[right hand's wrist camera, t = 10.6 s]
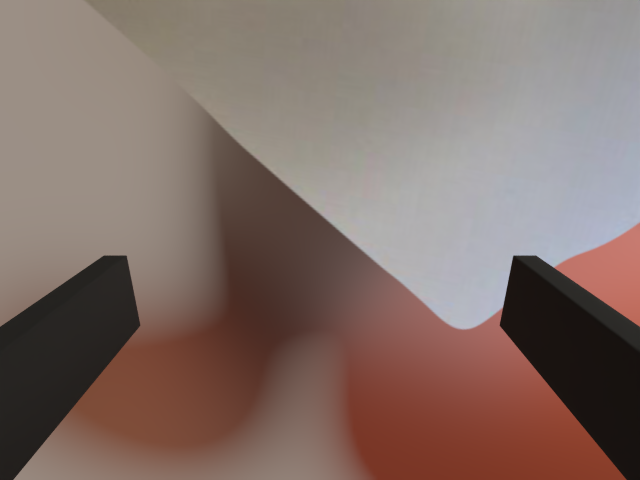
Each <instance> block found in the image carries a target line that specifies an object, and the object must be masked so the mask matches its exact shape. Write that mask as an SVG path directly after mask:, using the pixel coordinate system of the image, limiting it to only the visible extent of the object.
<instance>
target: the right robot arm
mask: <svg viewBox="0 0 640 480" xmlns="http://www.w3.org/2000/svg"><path fill="white" fill-rule="evenodd" d="M139 326H140V322H139V317H138V311H137V306H136V301H135V296H134V291H133V286H132V281H131V276H130V271H129V266H128V260H127V256H103V257H101V258H100V259H98V260H97V261H95V262H94V263H93V264H91V265H90V266H88V267H87V268H85V269H84V270H82V271H81V272H79V273H78V274H77V275H75V276H74V277H72V278H71V279H69V280H68V281H66V282H65V283H64V284H62V285H61V286H59V287H58V288H56V289H55V290H53V291H52V292H50V293H49V294H48V295H46V296H45V297H43V298H42V299H40V300H39V301H37V302H36V303H34V304H33V305H31V306H30V307H28V308H27V309H26V310H24V311H23V312H21V313H20V314H18V315H17V316H15V317H14V318H12V319H11V320H10V321H8V322H7V323H5V324H4V325H2V326H1V327H0V480H13V479H14V478H15V477H16V476H17V475H18V473H19V472H20V471H21V470H22V468H23V467H24V466H25V465H26V464H27V462H28V461H29V460H30V459H31V458H32V456H33V455H34V454H35V453H36V451H37V450H38V449H39V448H40V447H41V445H42V444H43V443H44V442H45V440H46V439H47V438H48V437H49V436H50V434H51V433H52V432H53V431H54V430H55V428H56V427H57V426H58V425H59V424H60V422H61V421H62V420H63V419H64V417H65V416H66V415H67V414H68V413H69V411H70V410H71V409H72V408H73V407H74V405H75V404H76V403H77V402H78V400H79V399H80V398H81V397H82V396H83V394H84V393H85V392H86V391H87V390H88V388H89V387H90V386H91V385H92V383H93V382H94V381H95V380H96V379H97V377H98V376H99V375H100V374H101V373H102V371H103V370H104V369H105V368H106V367H107V365H108V364H109V363H110V362H111V360H112V359H113V358H114V357H115V356H116V354H117V353H118V352H119V351H120V350H121V348H122V347H123V346H124V345H125V343H126V342H127V341H128V340H129V339H130V337H131V336H132V335H133V334H134V333H135V331H136V330H137V329H138V328H139ZM500 326H501V328H502V329H503V330H504V331H505V332H506V334H507V335H508V336H509V337H510V338H511V340H512V341H513V342H514V343H515V345H516V346H517V347H518V348H519V350H520V351H521V352H522V353H523V354H524V356H525V357H526V358H527V359H528V360H529V362H530V363H531V364H532V365H533V366H534V368H535V369H536V370H537V371H538V373H539V374H540V375H541V376H542V377H543V379H544V380H545V381H546V382H547V383H548V385H549V386H550V387H551V388H552V390H553V391H554V392H555V393H556V394H557V396H558V397H559V398H560V399H561V400H562V402H563V403H564V404H565V405H566V407H567V408H568V409H569V410H570V411H571V413H572V414H573V415H574V416H575V417H576V419H577V420H578V421H579V422H580V424H581V425H582V426H583V427H584V428H585V430H586V431H587V432H588V433H589V434H590V436H591V437H592V438H593V439H594V441H595V442H596V443H597V444H598V445H599V447H600V448H601V449H602V450H603V451H604V453H605V454H606V455H607V456H608V458H609V459H610V460H611V461H612V462H613V464H614V465H615V466H616V467H617V468H618V470H619V471H620V472H621V473H622V475H623V476H624V477H625V478H626V479H627V480H640V327H639V326H638V325H636V324H635V323H633V322H632V321H630V320H629V319H628V318H626V317H625V316H623V315H622V314H620V313H619V312H617V311H616V310H614V309H613V308H612V307H610V306H609V305H607V304H606V303H604V302H603V301H601V300H600V299H598V298H597V297H595V296H594V295H593V294H591V293H590V292H588V291H587V290H585V289H584V288H582V287H581V286H579V285H578V284H577V283H575V282H574V281H572V280H571V279H569V278H568V277H566V276H565V275H563V274H562V273H561V272H559V271H558V270H556V269H555V268H553V267H552V266H550V265H549V264H547V263H546V262H545V261H543V260H542V259H540V258H539V257H537V256H513V260H512V266H511V271H510V276H509V281H508V286H507V291H506V296H505V301H504V306H503V311H502V317H501V321H500Z"/></svg>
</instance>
